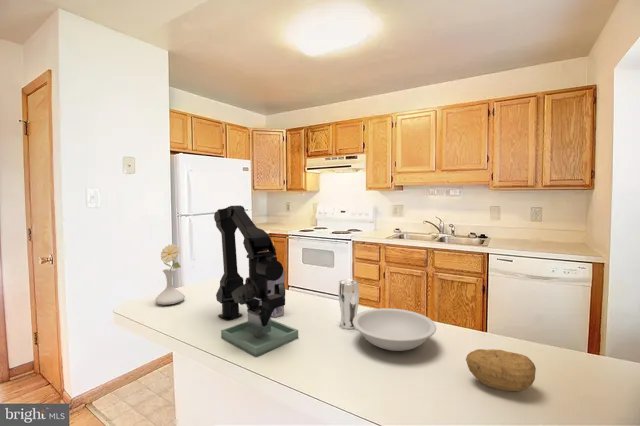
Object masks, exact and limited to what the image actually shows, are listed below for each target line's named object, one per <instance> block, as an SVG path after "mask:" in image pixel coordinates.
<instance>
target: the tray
mask: <svg viewBox="0 0 640 426" xmlns="http://www.w3.org/2000/svg"><path fill="white" fill-rule="evenodd" d="M220 335H221V337H220V338H221V339H223V340H224V341H225V342H227V343H229V344H231V345H233V346H235V347H237V348H238V349H240V350H241V351H244V352H245V353H247V354H249V355H251V356H253V357H254V358H258V357H260V356H263V355H264V354H267V353H269V352H271V351H273V350H275V349H277V348H279V347H282V346H284V345H287V344H288V343H291V342H293V341H296V340H297V339H299V329H296V328H295V327H292V326H289V325H286V324H284V323H281V322H280V321H276V320H273V319H271V332H268V333H266V334H263V335H261V336H255V335H253V334H251V333H249V332H248V320H247V321H244V322H241V323H239V324H235V325H233V326H229V327H227V328H223V329H221V330H220Z"/></svg>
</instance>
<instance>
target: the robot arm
mask: <svg viewBox="0 0 640 426" xmlns="http://www.w3.org/2000/svg"><path fill="white" fill-rule="evenodd" d="M213 219H214V222H215V226H216V228H217V229H218V231H219V232H220V234H221V246H222V247H221V248H222V259H223V260H222V262H223V274H222V277H221V279H220V280H219V288H218V290H217V292H216V294H215V297H216V301H217V303H220V304H221V313H219V314H218V317H219V318H221V319H222V320H225V321H230V320H233V319H236V318H240V317H242V316H243V314H242V313H241V312H240V306H241V305H242V306H244V305H245V306H246V308H247V309H250V308H253V307H256V306H258V308H259V309H260V310H261V314H262V323H263V326H266V325H267V323H268V321H269V319H270V317H271V318H272V316H271V314H272V312H273V311H274V309H275V308H278V307H281V306H284V307H285V305H286V297H285V298H284V297H283V296H281V295H278V294H273V295H270V296H267V295H268V294H269V293H271V290H270V289H268V281H269V280H271V281H276V280H278V279H279V278H280V277H281V276H282V274H283V270H284V267H283V264H282V263H281V262H280V261H278V257H277V252H276V251H277V249H276V247H275V246H274V243H273V241H272V238H271V237H270V235H269V234H268V233H267V232H266V231H265V230H264V229H262V228H259V227H257V225H255V223H254V222H253V220H252V219H251V217H250V216H249V214H248V213H247V212H246V211H245V208H244V206H243V205H230V206H227V207H225V208H219V209H217V210H216V211H215V213H214V215H213ZM237 229H238V231H239V232H240V233H241V235H242V237H243V242H242V244H243V246H244V249H245V252H246V258H247V259H248V277H246V278H245V279H244V278H243V277H242V276H241V275H240V273H239V271H238V259H237V245H236V231H237ZM244 280H245V281H244ZM244 282H245V283H244ZM260 300H261V301H262V305H261V306H259V303H260ZM239 305H240V306H239Z"/></svg>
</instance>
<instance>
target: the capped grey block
mask: <svg viewBox="0 0 640 426" xmlns="http://www.w3.org/2000/svg"><path fill="white" fill-rule="evenodd" d="M259 306H261V305H259ZM246 312H247V321H248V332H249V333H251V334H253V335H255V336H261V335H263V334H266V333H268V332H271V318H272V316H271V317H270V319H269V321H268V323H267V325H266V326H263V323H262V314H261V310H260V309H259V308H258V306H256V307H253V308H250V309H248V308H247V309H246Z"/></svg>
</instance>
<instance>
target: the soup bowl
mask: <svg viewBox="0 0 640 426" xmlns="http://www.w3.org/2000/svg"><path fill="white" fill-rule="evenodd" d="M353 325H354V327H355V329H356V331H358V332H359V333H360V334H361V335H362V337H363V338H364V339H365V340H366V341H367V342H369V343H370V344H371V345H373V346H375V347H377V348H380V349H383V350H387V351H395V352H399V351H400V352H403V351H409V350H412V349H415V348H418V347H419V346H422V344H424V342H426V341H427V340H428V338H430V337H432V336H433V335H434V334H436V331H437V325H436V323H435V322H434V320H433V319H431V318H430V317H428V316H426V315H424V314H422V313H419V312H415V311H412V310H407V309H400V308H391V307H390V308H385V307H383V308H373V309H369V310H363V311H361V312H359V313H357V315H356V316H355V317H354V318H353Z"/></svg>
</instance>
